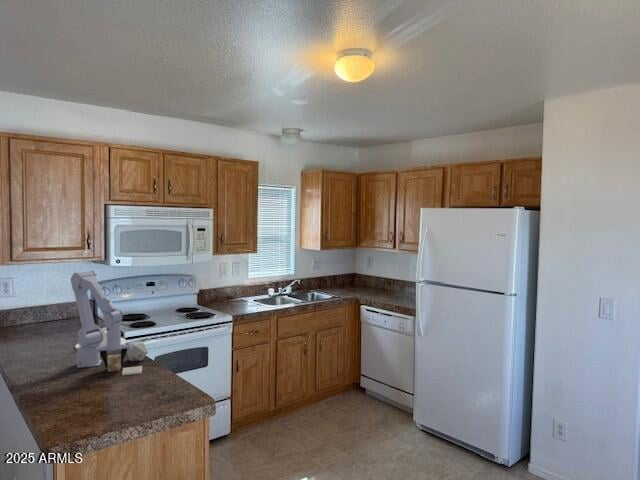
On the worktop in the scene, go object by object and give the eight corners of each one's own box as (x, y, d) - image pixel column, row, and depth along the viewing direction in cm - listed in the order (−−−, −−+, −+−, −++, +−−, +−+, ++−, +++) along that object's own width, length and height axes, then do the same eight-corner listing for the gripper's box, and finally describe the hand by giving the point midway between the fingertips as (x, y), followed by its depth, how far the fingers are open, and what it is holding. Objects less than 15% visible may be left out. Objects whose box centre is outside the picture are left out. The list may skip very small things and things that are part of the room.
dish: (127, 348, 237) (126, 327, 237) (73, 354, 227) (73, 332, 226) (125, 337, 260) (124, 318, 259) (76, 342, 249) (75, 322, 248)
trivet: (121, 375, 196) (121, 373, 196) (123, 369, 204) (123, 367, 204) (141, 373, 199) (141, 371, 199) (142, 367, 206) (142, 365, 206)
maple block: (107, 371, 201) (107, 358, 201) (109, 368, 206) (108, 355, 205) (119, 370, 203) (119, 357, 202) (120, 367, 207) (120, 354, 207)
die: (134, 365, 211) (147, 347, 214) (119, 355, 213) (133, 337, 215) (141, 366, 219) (154, 348, 222) (127, 356, 221) (139, 338, 223)
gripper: (94, 340, 197) (95, 370, 198) (130, 337, 202) (130, 367, 203) (97, 336, 204) (97, 365, 205) (131, 333, 209) (131, 362, 209)
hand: (114, 366), depth 204 cm, fingers open, 6 cm apart
